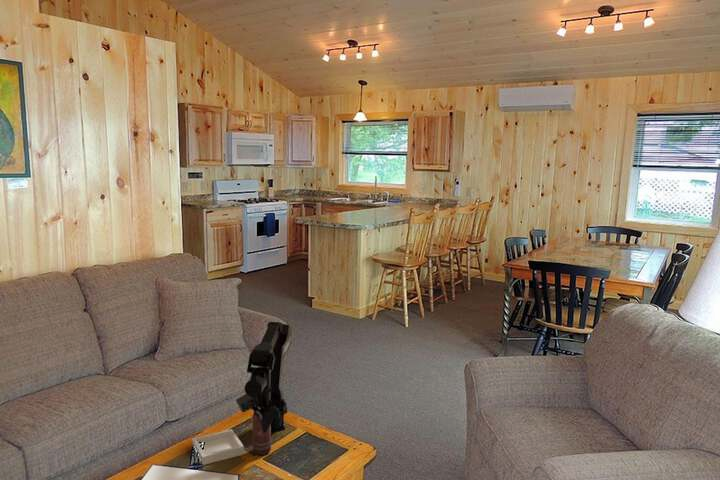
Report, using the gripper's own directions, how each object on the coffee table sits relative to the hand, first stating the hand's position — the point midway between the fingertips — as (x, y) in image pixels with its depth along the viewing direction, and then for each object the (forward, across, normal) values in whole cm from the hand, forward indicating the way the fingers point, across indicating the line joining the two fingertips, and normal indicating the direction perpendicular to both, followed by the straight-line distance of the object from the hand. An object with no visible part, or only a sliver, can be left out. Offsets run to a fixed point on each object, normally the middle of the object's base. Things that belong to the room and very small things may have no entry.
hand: (261, 428), depth 180 cm
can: (+8, 0, 0) cm, 8 cm away
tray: (+8, -8, -13) cm, 17 cm away
